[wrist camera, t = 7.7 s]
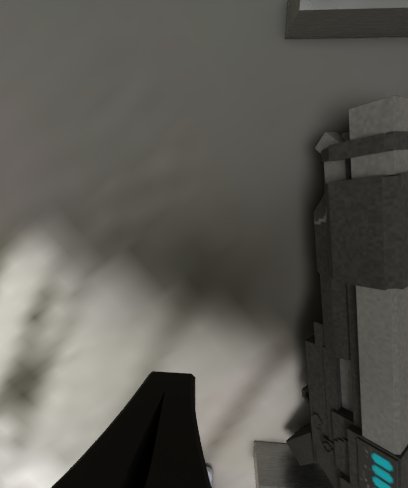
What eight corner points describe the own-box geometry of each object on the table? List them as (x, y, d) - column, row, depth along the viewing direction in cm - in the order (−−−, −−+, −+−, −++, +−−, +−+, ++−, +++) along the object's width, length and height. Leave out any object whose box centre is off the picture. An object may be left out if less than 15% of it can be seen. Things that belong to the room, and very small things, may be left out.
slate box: (381, 467, 21) (405, 516, 18) (253, 456, 22) (257, 502, 19) (496, -5, 13) (570, -48, 10) (287, 1, 14) (303, -39, 11)
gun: (277, 476, 19) (485, 627, 11) (213, 171, 18) (385, 87, 10) (318, 437, 22) (512, 536, 14) (263, 167, 21) (434, 97, 13)
